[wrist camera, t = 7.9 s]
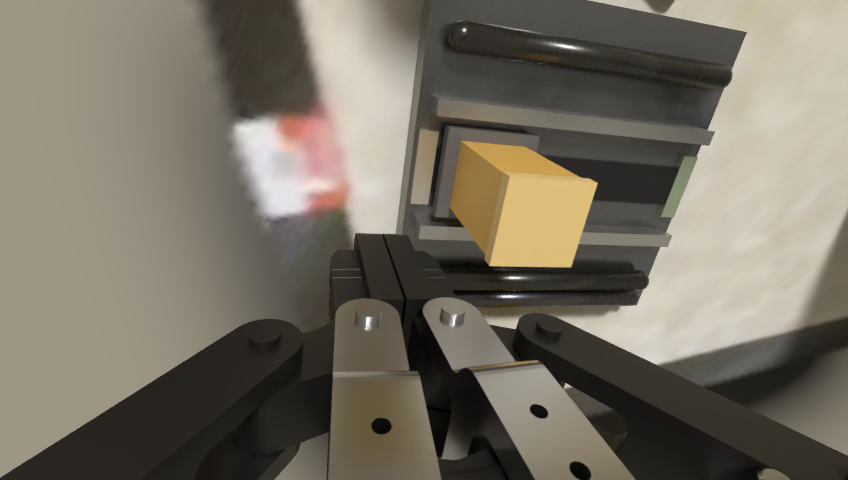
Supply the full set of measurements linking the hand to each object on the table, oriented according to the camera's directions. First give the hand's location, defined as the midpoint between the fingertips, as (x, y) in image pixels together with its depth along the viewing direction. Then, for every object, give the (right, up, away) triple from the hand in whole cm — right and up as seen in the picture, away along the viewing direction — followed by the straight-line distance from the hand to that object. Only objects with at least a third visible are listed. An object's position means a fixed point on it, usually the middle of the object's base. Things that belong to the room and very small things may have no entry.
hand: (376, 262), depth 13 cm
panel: (+9, +5, +14) cm, 17 cm away
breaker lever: (+5, +4, +11) cm, 13 cm away
